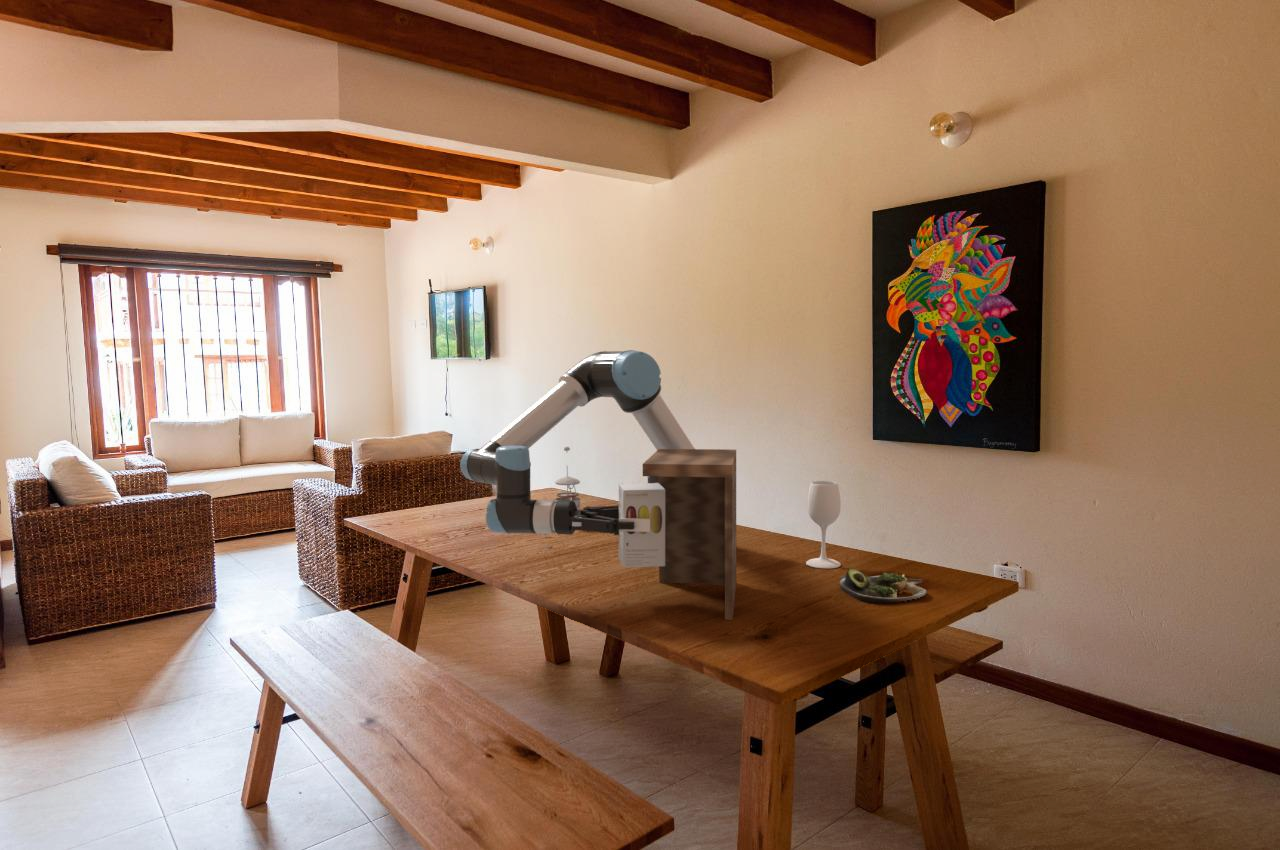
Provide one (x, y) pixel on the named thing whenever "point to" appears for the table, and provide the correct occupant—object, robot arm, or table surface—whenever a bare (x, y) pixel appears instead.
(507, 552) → the table surface
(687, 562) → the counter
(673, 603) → the table surface
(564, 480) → the french press
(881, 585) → the salad plate
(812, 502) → the wineglass
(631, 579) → the table surface
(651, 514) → the supplement box
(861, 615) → the table surface
